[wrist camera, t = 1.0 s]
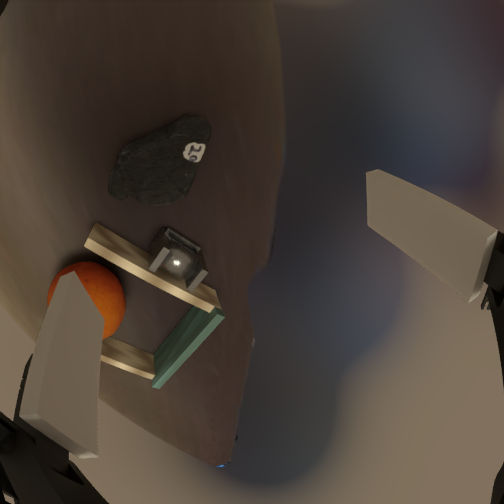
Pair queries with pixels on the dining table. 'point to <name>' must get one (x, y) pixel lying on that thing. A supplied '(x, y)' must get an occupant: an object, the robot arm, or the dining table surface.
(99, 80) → the dining table surface
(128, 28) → the dining table surface
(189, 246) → the dark grey bracket
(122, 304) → the fruit
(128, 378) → the dining table surface
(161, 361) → the bay
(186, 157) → the rock
